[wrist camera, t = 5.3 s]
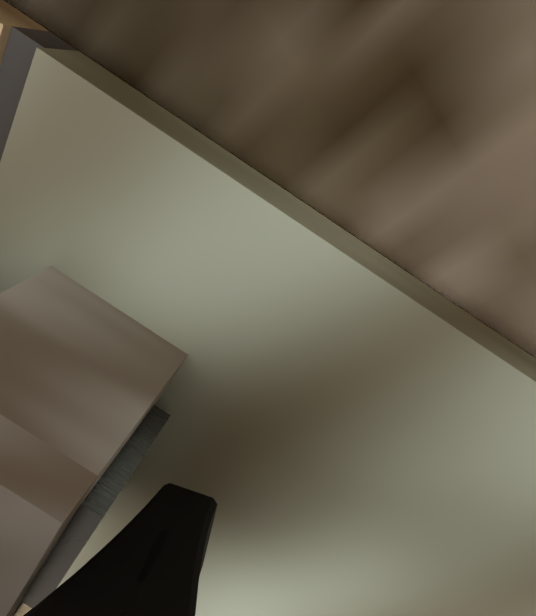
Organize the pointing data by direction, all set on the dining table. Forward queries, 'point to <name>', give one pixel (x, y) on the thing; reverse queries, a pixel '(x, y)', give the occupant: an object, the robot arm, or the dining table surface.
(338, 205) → the dining table surface
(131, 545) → the robot arm
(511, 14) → the dining table surface
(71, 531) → the charcoal brick
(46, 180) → the base
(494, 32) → the dining table surface
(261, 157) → the dining table surface
